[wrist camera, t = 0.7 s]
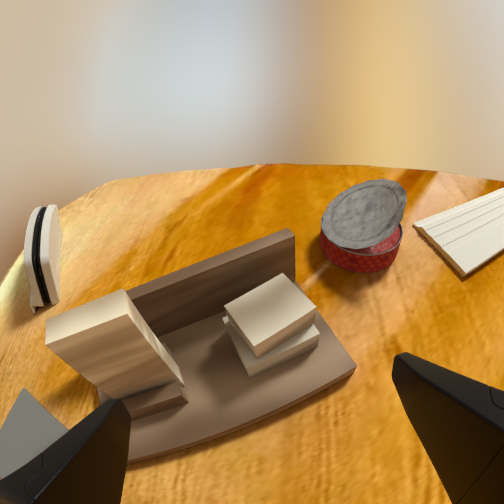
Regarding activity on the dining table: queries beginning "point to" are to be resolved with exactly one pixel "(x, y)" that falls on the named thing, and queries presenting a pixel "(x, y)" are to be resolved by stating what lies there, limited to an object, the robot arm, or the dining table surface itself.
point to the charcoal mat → (26, 433)
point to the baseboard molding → (468, 231)
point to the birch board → (112, 347)
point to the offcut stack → (271, 325)
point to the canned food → (364, 226)
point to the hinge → (43, 255)
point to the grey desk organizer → (220, 353)
